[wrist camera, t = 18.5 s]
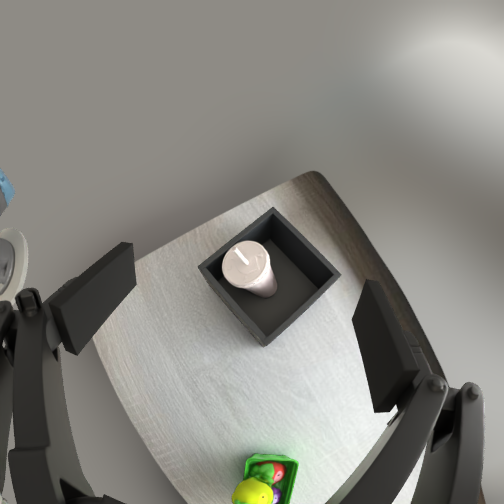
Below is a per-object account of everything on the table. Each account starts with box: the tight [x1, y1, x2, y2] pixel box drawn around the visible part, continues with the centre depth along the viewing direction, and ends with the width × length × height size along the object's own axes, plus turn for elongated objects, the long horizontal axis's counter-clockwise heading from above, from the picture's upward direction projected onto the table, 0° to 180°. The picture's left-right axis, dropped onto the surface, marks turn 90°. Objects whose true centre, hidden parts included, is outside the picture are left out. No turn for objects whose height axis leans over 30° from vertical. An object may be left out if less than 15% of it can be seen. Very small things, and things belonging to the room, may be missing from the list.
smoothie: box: [222, 241, 277, 298], centre depth 38 cm, size 6×6×14 cm
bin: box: [198, 207, 341, 347], centre depth 40 cm, size 14×14×10 cm
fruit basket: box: [232, 453, 299, 504], centre depth 28 cm, size 11×9×11 cm
